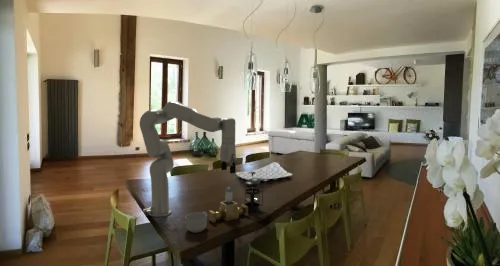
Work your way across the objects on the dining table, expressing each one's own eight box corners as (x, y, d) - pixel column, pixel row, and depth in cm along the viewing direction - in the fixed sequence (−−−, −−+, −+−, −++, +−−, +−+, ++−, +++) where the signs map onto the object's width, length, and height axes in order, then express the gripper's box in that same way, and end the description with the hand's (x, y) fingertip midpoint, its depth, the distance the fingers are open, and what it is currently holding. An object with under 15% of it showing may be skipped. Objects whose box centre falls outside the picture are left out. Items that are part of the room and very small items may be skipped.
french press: (242, 212, 196) (242, 173, 194) (244, 207, 206) (244, 170, 203) (262, 212, 195) (262, 174, 193) (263, 207, 205) (263, 170, 202)
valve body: (214, 223, 177) (214, 208, 176) (207, 219, 184) (207, 204, 183) (249, 216, 189) (249, 201, 189) (241, 212, 196) (241, 198, 195)
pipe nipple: (227, 210, 183) (227, 189, 182) (223, 208, 187) (224, 187, 186) (233, 209, 186) (234, 188, 185) (230, 207, 189) (230, 186, 188)
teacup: (194, 236, 160) (194, 220, 160) (180, 230, 168) (180, 215, 167) (215, 228, 171) (215, 213, 170) (202, 223, 178) (202, 208, 177)
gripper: (215, 139, 188) (215, 169, 190) (230, 142, 174) (230, 175, 175) (226, 138, 192) (226, 168, 194) (242, 142, 178) (242, 173, 179)
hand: (228, 171), depth 184 cm, fingers open, 9 cm apart
